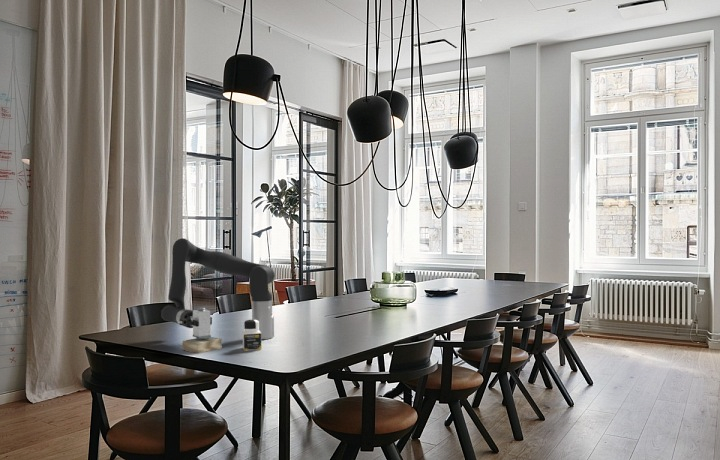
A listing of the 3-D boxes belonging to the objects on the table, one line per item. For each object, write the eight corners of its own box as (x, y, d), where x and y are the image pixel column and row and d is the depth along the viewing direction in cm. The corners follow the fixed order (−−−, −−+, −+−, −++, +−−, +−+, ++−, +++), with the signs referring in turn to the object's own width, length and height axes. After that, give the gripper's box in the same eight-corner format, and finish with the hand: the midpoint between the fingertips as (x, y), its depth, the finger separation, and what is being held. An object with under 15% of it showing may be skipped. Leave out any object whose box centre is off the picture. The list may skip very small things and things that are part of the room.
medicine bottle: (244, 351, 238) (243, 321, 238) (242, 347, 245) (242, 319, 245) (261, 349, 240) (261, 320, 240) (259, 346, 247) (259, 318, 247)
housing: (192, 336, 244) (192, 307, 244) (203, 334, 247) (203, 306, 247) (199, 338, 239) (199, 309, 239) (210, 337, 242) (210, 308, 242)
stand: (205, 345, 251) (205, 335, 251) (221, 348, 245) (221, 338, 245) (182, 350, 241) (182, 340, 241) (198, 353, 235) (198, 342, 235)
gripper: (171, 311, 250) (187, 315, 236) (203, 308, 259) (220, 312, 245) (171, 328, 250) (187, 334, 236) (203, 325, 259) (220, 330, 245)
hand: (204, 323), depth 241 cm, fingers closed on housing, 5 cm apart
